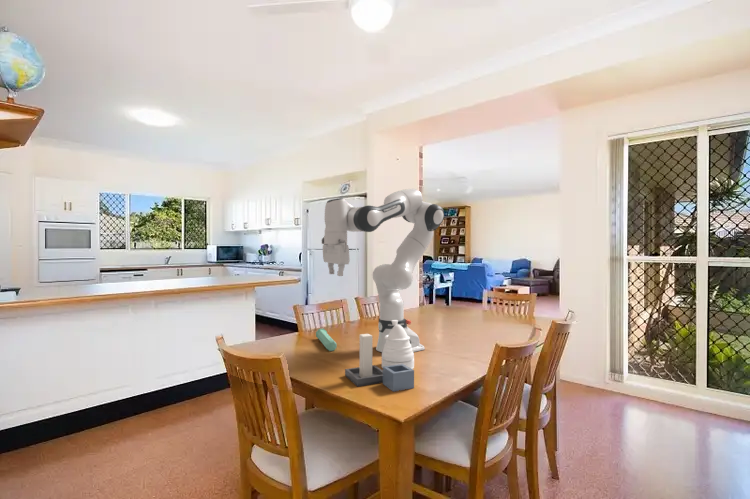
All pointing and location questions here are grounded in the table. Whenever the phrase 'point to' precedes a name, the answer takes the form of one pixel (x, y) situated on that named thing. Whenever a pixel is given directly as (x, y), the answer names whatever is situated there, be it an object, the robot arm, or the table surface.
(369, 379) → the tray
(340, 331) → the table surface
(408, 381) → the socket
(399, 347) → the honey pot
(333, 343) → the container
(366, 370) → the peg
